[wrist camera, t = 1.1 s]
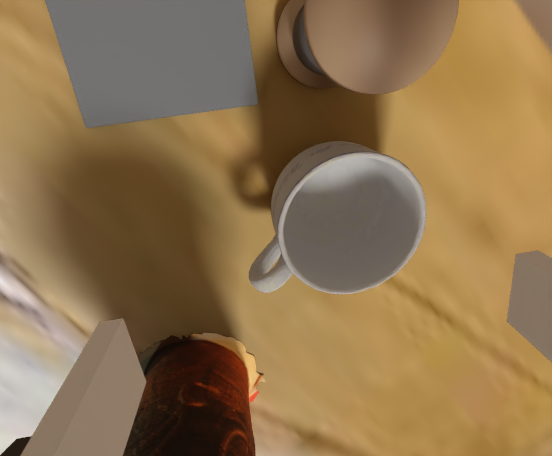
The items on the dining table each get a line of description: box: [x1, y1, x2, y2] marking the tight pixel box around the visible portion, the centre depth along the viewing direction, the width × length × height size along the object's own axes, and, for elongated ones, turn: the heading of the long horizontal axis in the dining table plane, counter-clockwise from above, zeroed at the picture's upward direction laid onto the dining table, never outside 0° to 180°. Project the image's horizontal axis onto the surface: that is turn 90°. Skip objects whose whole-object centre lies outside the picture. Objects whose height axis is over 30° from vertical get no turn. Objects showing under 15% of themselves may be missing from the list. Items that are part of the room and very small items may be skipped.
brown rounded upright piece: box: [276, 0, 459, 94], centre depth 22 cm, size 7×7×12 cm
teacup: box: [249, 141, 426, 294], centre depth 29 cm, size 14×11×8 cm
